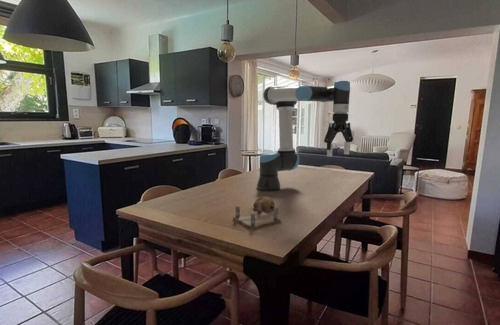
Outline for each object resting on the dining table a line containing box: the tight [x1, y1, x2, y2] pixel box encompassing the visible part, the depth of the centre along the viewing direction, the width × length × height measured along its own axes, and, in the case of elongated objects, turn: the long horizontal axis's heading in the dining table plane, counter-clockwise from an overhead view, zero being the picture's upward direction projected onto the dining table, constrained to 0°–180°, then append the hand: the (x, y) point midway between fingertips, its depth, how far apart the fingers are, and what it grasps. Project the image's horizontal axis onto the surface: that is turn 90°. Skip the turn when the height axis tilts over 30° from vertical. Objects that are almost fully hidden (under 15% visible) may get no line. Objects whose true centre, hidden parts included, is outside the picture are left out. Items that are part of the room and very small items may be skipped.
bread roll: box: [252, 195, 275, 212], centre depth 140 cm, size 10×10×8 cm
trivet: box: [232, 201, 281, 231], centre depth 123 cm, size 15×15×6 cm
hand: (338, 155), depth 143 cm, fingers open, 13 cm apart
